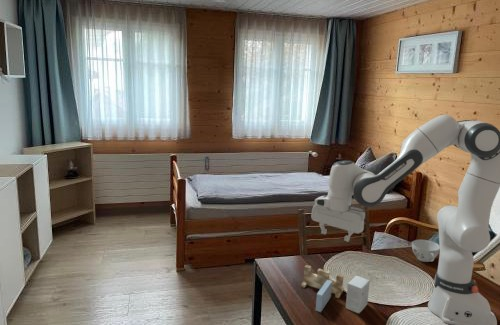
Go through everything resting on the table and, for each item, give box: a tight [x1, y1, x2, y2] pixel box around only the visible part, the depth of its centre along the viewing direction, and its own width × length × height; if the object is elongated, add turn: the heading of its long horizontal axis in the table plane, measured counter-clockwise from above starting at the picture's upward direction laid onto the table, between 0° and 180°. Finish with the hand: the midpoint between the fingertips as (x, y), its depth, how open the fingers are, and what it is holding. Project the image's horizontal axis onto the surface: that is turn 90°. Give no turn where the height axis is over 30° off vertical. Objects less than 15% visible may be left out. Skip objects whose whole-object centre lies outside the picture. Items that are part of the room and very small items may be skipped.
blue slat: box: [315, 280, 332, 313], centre depth 144 cm, size 12×2×7 cm, turn 150°
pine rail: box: [300, 264, 345, 299], centre depth 154 cm, size 16×7×8 cm, turn 60°
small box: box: [345, 275, 371, 314], centre depth 142 cm, size 8×6×10 cm
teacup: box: [411, 239, 440, 263], centre depth 181 cm, size 15×12×8 cm
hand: (335, 237), depth 144 cm, fingers open, 8 cm apart
